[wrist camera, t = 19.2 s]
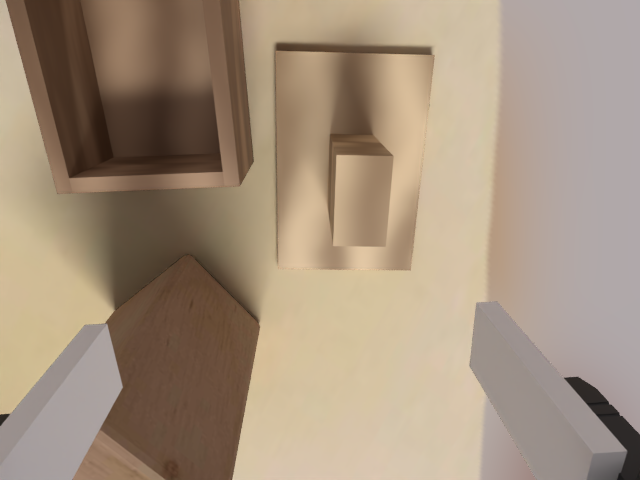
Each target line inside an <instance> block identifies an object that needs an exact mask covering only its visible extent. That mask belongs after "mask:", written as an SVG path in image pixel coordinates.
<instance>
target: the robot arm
mask: <svg viewBox="0 0 640 480" xmlns="http://www.w3.org/2000/svg"><path fill="white" fill-rule="evenodd" d="M470 368H471V369H472V371H473V373H474V374H475V376H476V378H477V379H478V381H479V383H480V385H481V386H482V388H483V390H484V391H485V393H486V395H487V397H488V398H489V400H490V402H491V403H492V405H493V407H494V408H495V410H496V411H497V414H498V415H499V417H500V419H501V420H502V422H503V424H504V426H505V427H506V429H507V431H508V432H509V434H510V436H511V437H512V439H513V441H514V443H515V444H516V446H517V448H518V449H519V451H520V453H521V455H522V456H523V458H524V459H525V461H526V463H527V465H528V467H529V468H530V470H531V472H532V473H533V475H534V477H535V478H536V480H640V434H639V433H638V432H637V431H636V430H635V429H634V428H633V427H632V426H631V425H630V424H629V423H628V422H627V421H626V420H625V419H624V418H623V416H620V415H619V412H618V411H617V410H616V409H615V408H614V407H613V406H612V405H609V402H608V401H607V400H606V398H605V397H604V396H603V395H602V394H601V393H600V392H599V391H598V390H597V389H596V388H595V387H593V386H591V385H590V384H588V383H587V382H585V381H584V380H582V379H581V378H579V377H569V378H563V377H562V375H561V374H560V373H559V372H558V371H557V370H556V369H555V367H554V366H553V365H552V364H551V363H550V362H549V360H548V359H547V358H546V357H545V356H544V355H543V354H542V352H541V351H540V350H539V349H538V348H537V347H536V346H535V345H534V343H533V342H532V341H531V340H530V339H529V338H528V336H527V335H526V334H525V333H524V332H523V331H522V329H521V328H520V327H519V326H518V325H517V324H516V322H515V321H514V320H513V319H512V318H511V317H510V316H509V314H508V313H507V312H506V311H505V310H504V309H503V308H502V306H501V305H500V304H499V303H498V302H479V303H476V310H475V320H474V329H473V338H472V347H471V356H470ZM122 388H123V386H122V382H121V378H120V374H119V370H118V366H117V362H116V358H115V354H114V349H113V345H112V341H111V337H110V333H109V329H108V325H107V324H93V325H84V327H83V328H82V329H81V330H80V331H79V333H78V334H77V335H76V336H75V337H74V339H73V340H72V341H71V342H70V343H69V345H68V346H67V347H66V348H65V349H64V351H63V352H62V353H61V354H60V355H59V357H58V358H57V359H56V360H55V361H54V363H53V364H52V365H51V366H50V367H49V369H48V370H47V371H46V372H45V373H44V375H43V376H42V377H41V378H40V379H39V381H38V382H37V383H36V384H35V385H34V387H33V388H32V389H31V390H30V391H29V393H28V394H27V395H26V396H25V397H24V399H23V400H22V401H21V402H20V403H19V405H18V406H17V407H16V408H15V409H14V410H13V412H12V413H11V414H1V415H0V480H72V479H73V477H74V475H75V473H76V472H77V470H78V468H79V466H80V464H81V462H82V461H83V459H84V457H85V455H86V453H87V452H88V450H89V448H90V446H91V444H92V442H93V441H94V439H95V437H96V435H97V433H98V432H99V430H100V428H101V426H102V424H103V422H104V421H105V419H106V417H107V415H108V413H109V412H110V410H111V408H112V406H113V404H114V402H115V401H116V399H117V397H118V395H119V393H120V392H121V390H122Z"/></svg>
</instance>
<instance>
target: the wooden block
mask: <svg viewBox="0 0 640 480" xmlns="http://www.w3.org/2000/svg"><path fill="white" fill-rule="evenodd" d="M105 324H107V325H108V329H109V333H110V337H111V341H112V345H113V349H114V354H115V358H116V362H117V366H118V370H119V374H120V378H121V382H122V386H123V388H122V390H121V392H120V393H119V395H118V397H117V399H116V401H115V402H114V404H113V406H112V408H111V410H110V412H109V413H108V415H107V417H106V419H105V421H104V422H103V424H102V426H101V428H100V430H99V432H98V433H97V435H96V437H95V439H94V441H93V442H92V444H91V446H90V448H89V450H88V452H87V453H86V455H85V457H84V459H83V461H82V462H81V464H80V466H79V468H78V470H77V472H76V473H75V475H74V477H73V479H72V480H232V477H233V472H234V466H235V461H236V455H237V450H238V444H239V439H240V434H241V428H242V423H243V417H244V412H245V406H246V401H247V395H248V390H249V384H250V379H251V373H252V368H253V362H254V357H255V351H256V346H257V341H258V335H259V330H260V326H259V324H258V322H257V321H256V320H255V319H254V318H253V317H252V316H251V315H250V314H249V313H248V312H247V311H246V310H245V309H244V308H243V307H242V306H241V305H240V304H239V303H238V302H237V301H236V300H235V299H234V298H233V297H232V296H231V295H230V294H229V293H228V292H227V291H226V290H225V289H224V288H223V287H222V286H221V285H220V284H219V283H218V282H217V281H216V280H215V279H214V278H213V277H212V276H211V275H210V274H209V273H208V272H207V271H206V270H205V269H204V268H203V267H202V266H201V265H200V264H199V263H198V262H197V261H196V260H195V259H194V258H193V257H192V256H191V255H189V254H188V255H185V256H183V257H182V258H181V259H179V260H178V261H177V262H176V263H174V264H173V265H172V266H171V267H169V268H168V269H167V270H166V271H164V272H163V273H162V274H161V275H159V276H158V277H157V278H156V279H154V280H153V281H152V282H150V283H149V284H148V285H147V286H145V287H144V288H143V289H142V290H140V291H139V292H138V293H137V294H135V295H134V296H133V297H132V298H130V299H129V300H128V301H127V302H125V303H124V304H123V305H122V306H120V307H119V308H118V309H117V310H115V311H114V312H113V314H112V315H111V316H110V318H109V319H108V320H107V321H106V323H105Z"/></svg>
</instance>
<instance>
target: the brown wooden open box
mask: <svg viewBox="0 0 640 480" xmlns="http://www.w3.org/2000/svg"><path fill="white" fill-rule="evenodd" d="M6 3H7V7H8V11H9V14H10V18H11V22H12V26H13V29H14V33H15V37H16V41H17V44H18V48H19V52H20V56H21V59H22V63H23V67H24V70H25V74H26V78H27V82H28V85H29V89H30V93H31V97H32V100H33V104H34V108H35V111H36V115H37V119H38V123H39V126H40V130H41V134H42V138H43V141H44V145H45V149H46V153H47V156H48V160H49V164H50V167H51V171H52V175H53V179H54V182H55V186H56V190H57V194H63V193H87V192H111V191H135V190H159V189H183V188H206V187H230V186H240V185H241V183H242V181H243V180H244V178H245V176H246V174H247V172H248V171H249V169H250V167H251V165H252V164H253V162H254V160H253V150H252V139H251V128H250V117H249V107H248V96H247V85H246V74H245V64H244V53H243V42H242V31H241V21H240V10H239V0H6Z"/></svg>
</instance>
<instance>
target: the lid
mask: <svg viewBox="0 0 640 480" xmlns="http://www.w3.org/2000/svg"><path fill="white" fill-rule="evenodd" d="M434 57H435V55H412V54H376V53H339V52H303V51H275V59H276V140H277V222H278V269H335V270H411V261H412V253H413V244H414V235H415V226H416V217H417V208H418V199H419V190H420V181H421V172H422V163H423V155H424V146H425V137H426V128H427V119H428V110H429V101H430V92H431V83H432V74H433V66H434Z"/></svg>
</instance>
